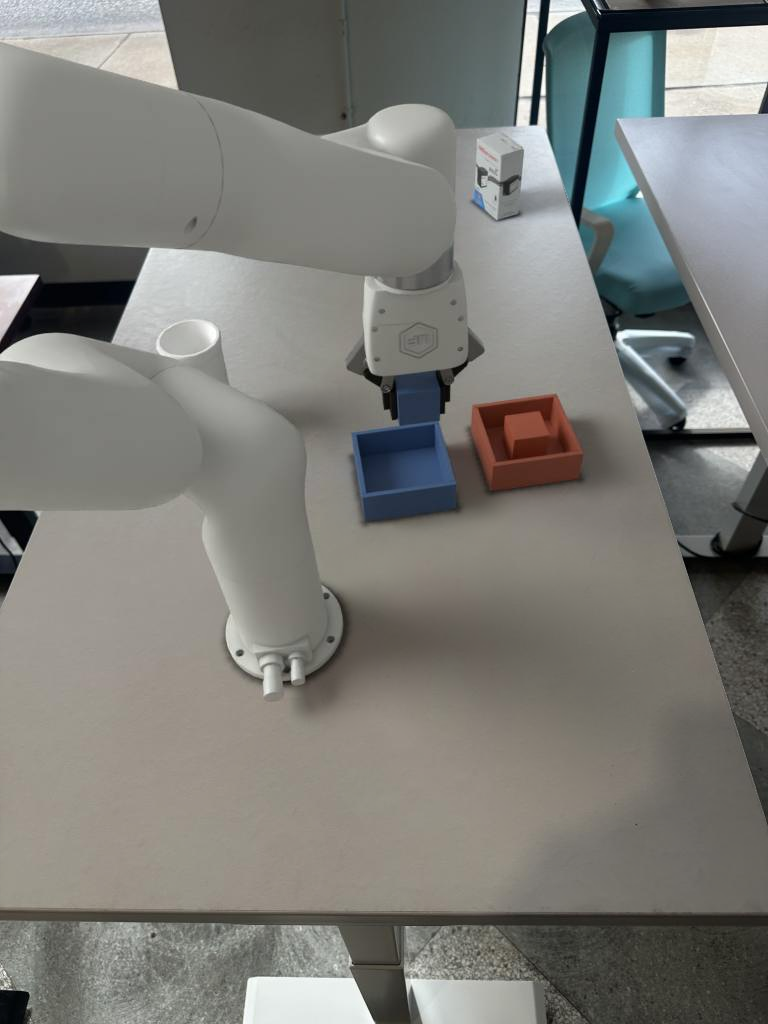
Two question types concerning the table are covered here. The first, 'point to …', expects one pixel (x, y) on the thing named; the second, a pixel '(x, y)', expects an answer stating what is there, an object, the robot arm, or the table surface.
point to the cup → (195, 346)
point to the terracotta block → (525, 436)
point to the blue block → (417, 398)
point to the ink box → (498, 175)
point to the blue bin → (403, 471)
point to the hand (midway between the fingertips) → (416, 407)
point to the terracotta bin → (528, 471)
